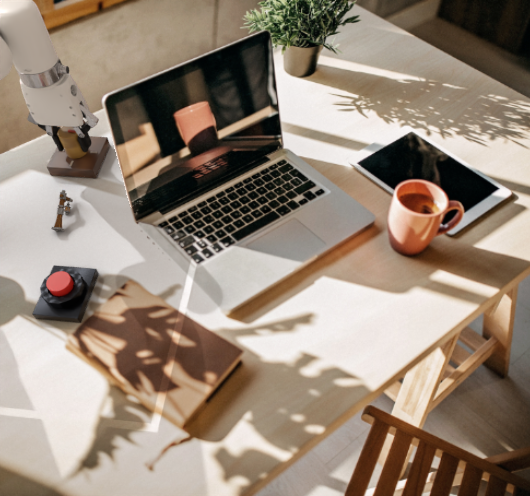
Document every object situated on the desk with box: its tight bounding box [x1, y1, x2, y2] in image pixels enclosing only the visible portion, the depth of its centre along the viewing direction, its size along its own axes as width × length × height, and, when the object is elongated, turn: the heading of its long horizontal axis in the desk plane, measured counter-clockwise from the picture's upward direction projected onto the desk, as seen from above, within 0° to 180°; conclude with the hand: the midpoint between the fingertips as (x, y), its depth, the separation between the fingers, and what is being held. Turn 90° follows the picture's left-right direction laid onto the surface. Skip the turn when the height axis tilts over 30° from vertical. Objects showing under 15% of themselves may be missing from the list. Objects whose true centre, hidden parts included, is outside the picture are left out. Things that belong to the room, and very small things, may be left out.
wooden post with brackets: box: [50, 189, 74, 232], centre depth 96 cm, size 2×8×4 cm, turn 174°
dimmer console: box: [46, 135, 111, 179], centre depth 105 cm, size 10×10×3 cm
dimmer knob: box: [57, 126, 86, 159], centre depth 102 cm, size 4×4×6 cm
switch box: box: [32, 264, 100, 324], centre depth 85 cm, size 8×10×4 cm
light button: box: [46, 271, 74, 297], centre depth 83 cm, size 4×4×2 cm
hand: (75, 146), depth 103 cm, fingers closed on dimmer knob, 4 cm apart
